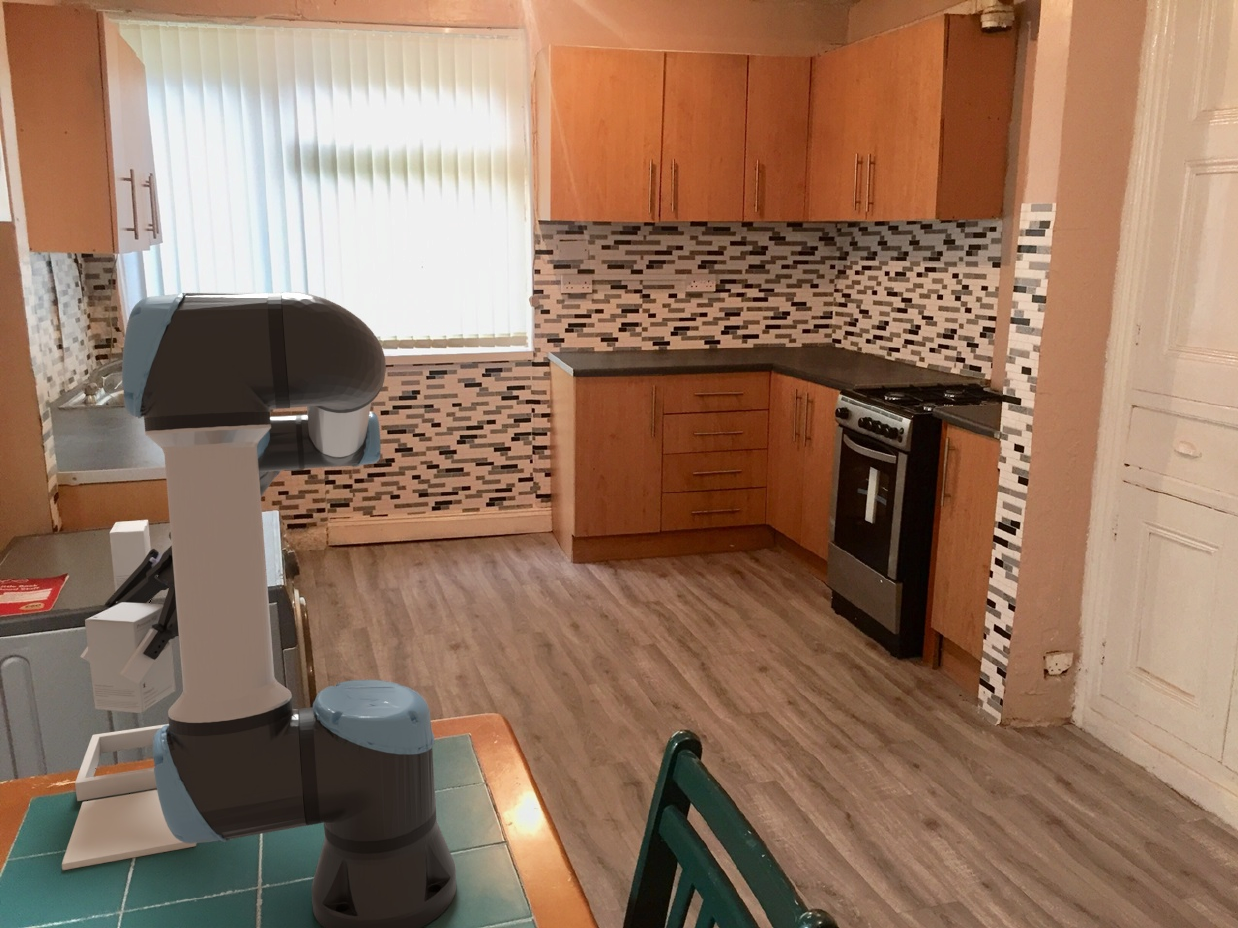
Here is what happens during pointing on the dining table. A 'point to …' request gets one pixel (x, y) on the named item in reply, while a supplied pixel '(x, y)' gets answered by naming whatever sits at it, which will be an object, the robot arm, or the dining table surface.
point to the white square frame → (115, 782)
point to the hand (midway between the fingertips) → (108, 670)
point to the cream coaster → (119, 830)
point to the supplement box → (126, 658)
